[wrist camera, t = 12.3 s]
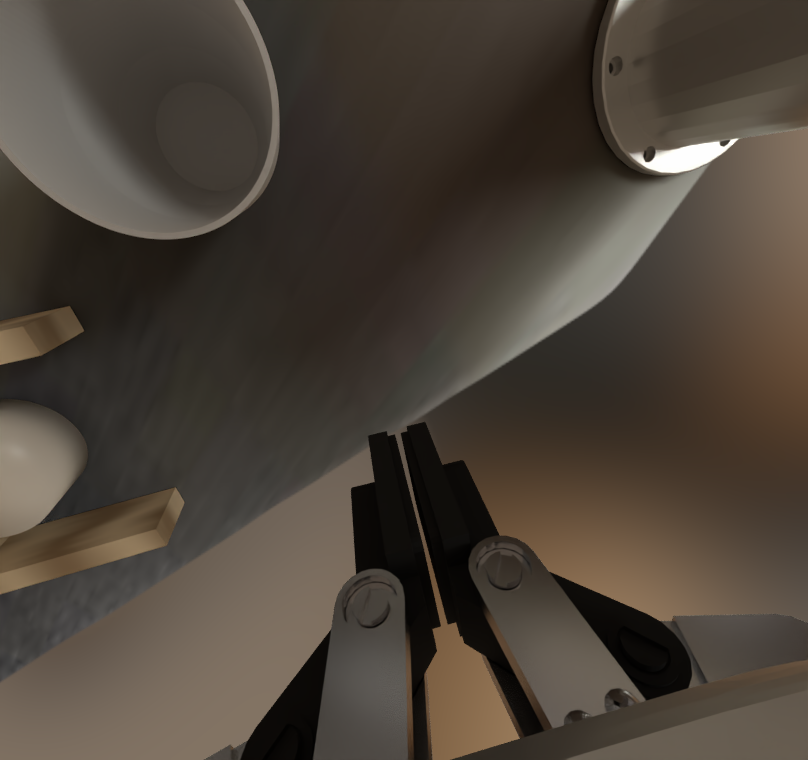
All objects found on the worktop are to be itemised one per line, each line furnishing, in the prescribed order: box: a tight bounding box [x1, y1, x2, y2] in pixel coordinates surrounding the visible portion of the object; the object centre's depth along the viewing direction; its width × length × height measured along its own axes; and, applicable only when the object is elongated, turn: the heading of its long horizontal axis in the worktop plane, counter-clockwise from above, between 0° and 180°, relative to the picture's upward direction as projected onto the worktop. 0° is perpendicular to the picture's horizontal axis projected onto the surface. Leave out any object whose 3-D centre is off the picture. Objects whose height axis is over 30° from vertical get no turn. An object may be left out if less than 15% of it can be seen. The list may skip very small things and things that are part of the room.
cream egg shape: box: [0, 399, 88, 538], centre depth 22 cm, size 7×7×4 cm
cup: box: [0, 0, 280, 239], centre depth 15 cm, size 8×8×10 cm
